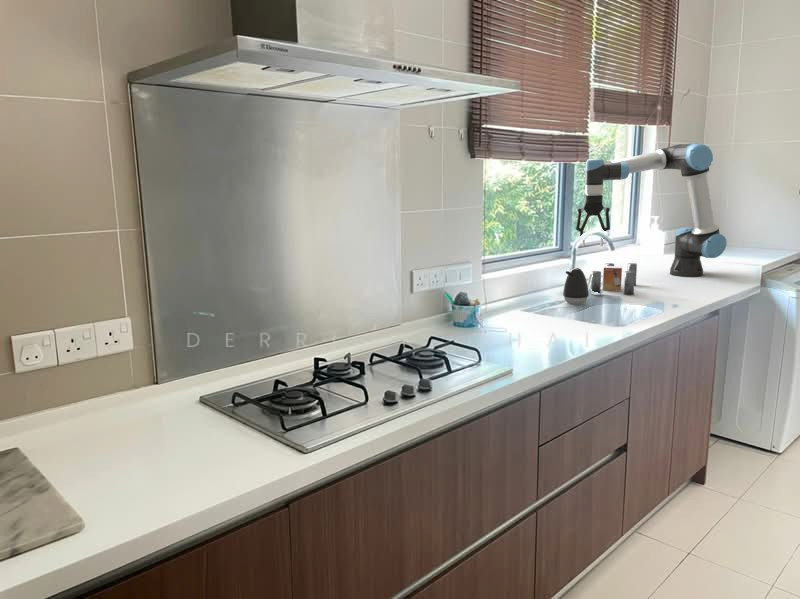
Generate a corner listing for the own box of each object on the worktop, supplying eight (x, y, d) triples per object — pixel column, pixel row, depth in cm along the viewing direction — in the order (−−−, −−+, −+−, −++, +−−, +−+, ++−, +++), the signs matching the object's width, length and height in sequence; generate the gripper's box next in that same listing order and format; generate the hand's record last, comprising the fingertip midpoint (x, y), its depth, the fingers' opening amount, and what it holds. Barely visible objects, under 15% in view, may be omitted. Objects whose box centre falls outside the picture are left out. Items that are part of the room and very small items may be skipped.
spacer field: (635, 284, 300) (636, 263, 298) (644, 295, 277) (645, 272, 275) (586, 284, 304) (587, 263, 302) (591, 295, 281) (592, 272, 279)
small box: (602, 290, 289) (603, 267, 287) (602, 288, 295) (603, 265, 292) (621, 291, 287) (622, 267, 285) (620, 288, 292) (621, 265, 290)
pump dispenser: (557, 303, 269) (558, 267, 266) (577, 299, 273) (577, 264, 270) (573, 307, 260) (574, 271, 257) (593, 304, 264) (594, 268, 261)
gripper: (616, 193, 285) (614, 244, 290) (569, 194, 289) (568, 244, 294) (618, 194, 277) (616, 246, 283) (571, 195, 281) (569, 247, 286)
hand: (592, 245), depth 288 cm, fingers open, 7 cm apart
